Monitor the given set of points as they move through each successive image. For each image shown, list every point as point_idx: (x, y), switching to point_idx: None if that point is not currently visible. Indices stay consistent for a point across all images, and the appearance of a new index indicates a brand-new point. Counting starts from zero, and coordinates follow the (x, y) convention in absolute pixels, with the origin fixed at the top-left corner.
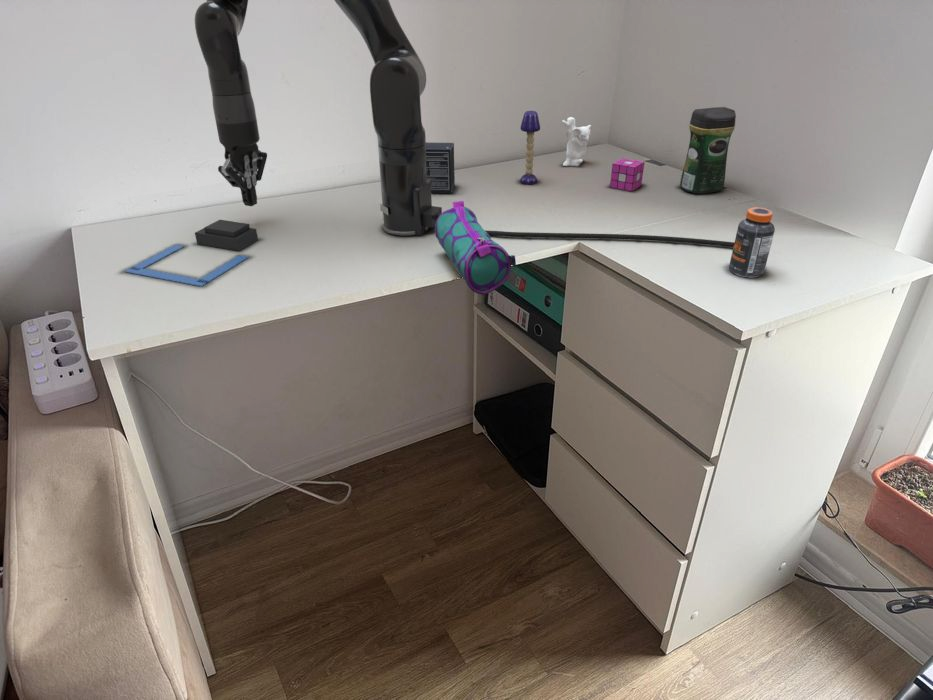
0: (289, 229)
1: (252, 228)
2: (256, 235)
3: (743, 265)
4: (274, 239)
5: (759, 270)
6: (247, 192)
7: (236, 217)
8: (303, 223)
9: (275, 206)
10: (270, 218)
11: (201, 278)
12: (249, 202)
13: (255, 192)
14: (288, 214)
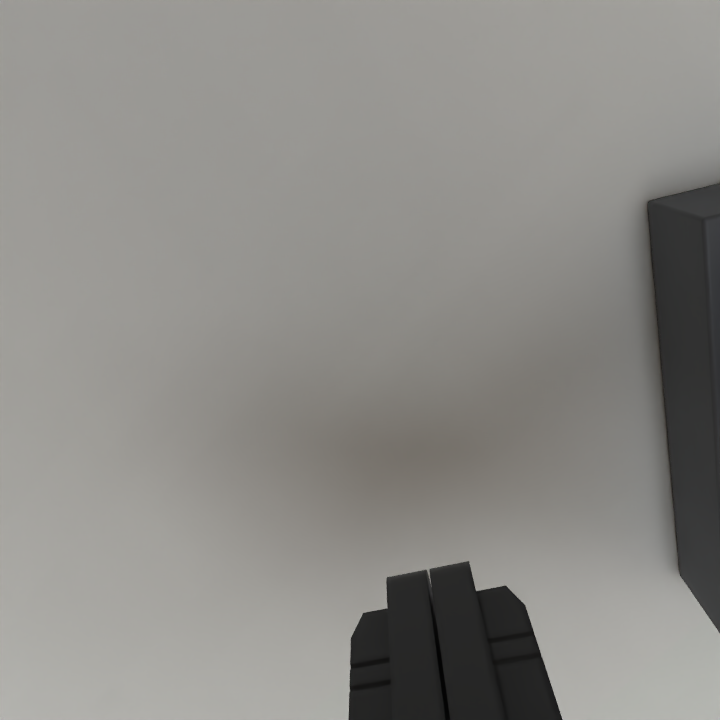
0: (287, 163)
1: (715, 257)
2: (682, 205)
3: None
4: (558, 77)
5: None
6: (546, 717)
7: None
8: (94, 170)
9: (29, 650)
10: (218, 501)
11: None
12: (505, 602)
13: (391, 684)
14: (57, 454)
